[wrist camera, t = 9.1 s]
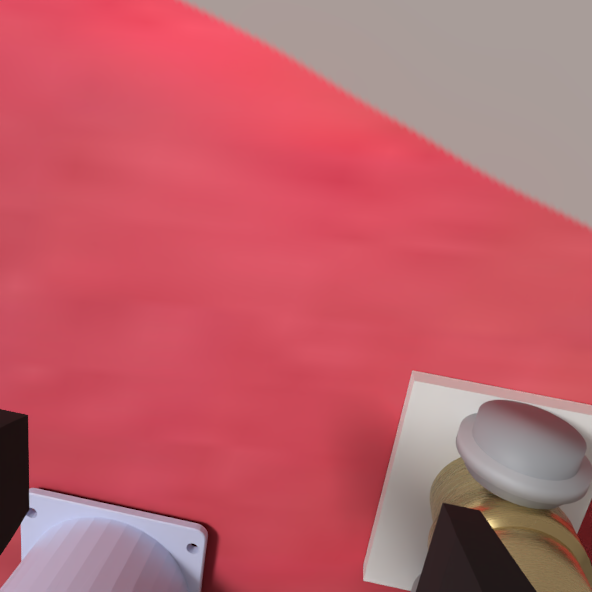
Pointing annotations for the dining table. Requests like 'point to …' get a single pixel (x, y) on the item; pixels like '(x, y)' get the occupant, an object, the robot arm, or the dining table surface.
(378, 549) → the fitting
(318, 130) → the dining table surface
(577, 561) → the cylinder
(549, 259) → the dining table surface
